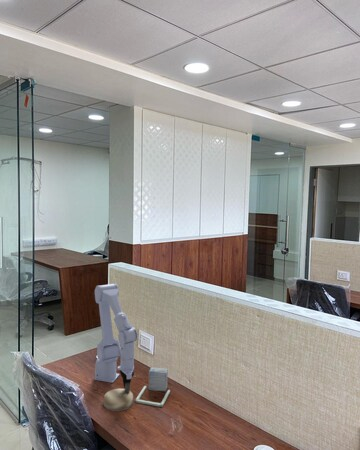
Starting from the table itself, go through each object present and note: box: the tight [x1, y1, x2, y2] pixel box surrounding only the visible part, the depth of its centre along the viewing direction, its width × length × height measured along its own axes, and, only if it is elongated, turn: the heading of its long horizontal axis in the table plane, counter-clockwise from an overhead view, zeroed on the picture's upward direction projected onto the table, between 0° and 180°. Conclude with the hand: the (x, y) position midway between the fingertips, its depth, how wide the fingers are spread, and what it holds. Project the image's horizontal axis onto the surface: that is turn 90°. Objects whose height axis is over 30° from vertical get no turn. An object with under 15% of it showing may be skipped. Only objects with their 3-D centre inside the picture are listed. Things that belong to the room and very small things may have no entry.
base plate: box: [102, 400, 135, 412], centre depth 149 cm, size 12×12×1 cm
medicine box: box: [148, 366, 169, 392], centre depth 160 cm, size 8×4×9 cm, turn 84°
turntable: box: [103, 382, 134, 410], centre depth 149 cm, size 12×12×6 cm
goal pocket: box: [134, 385, 171, 408], centre depth 154 cm, size 12×12×1 cm
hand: (126, 387), depth 154 cm, fingers closed
